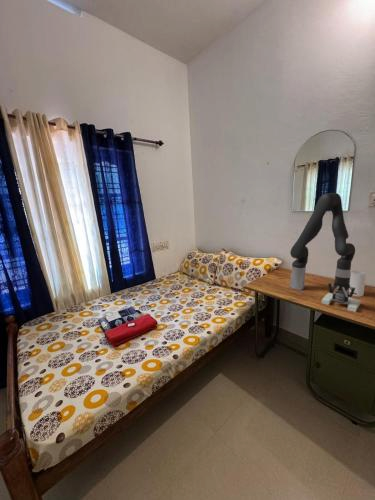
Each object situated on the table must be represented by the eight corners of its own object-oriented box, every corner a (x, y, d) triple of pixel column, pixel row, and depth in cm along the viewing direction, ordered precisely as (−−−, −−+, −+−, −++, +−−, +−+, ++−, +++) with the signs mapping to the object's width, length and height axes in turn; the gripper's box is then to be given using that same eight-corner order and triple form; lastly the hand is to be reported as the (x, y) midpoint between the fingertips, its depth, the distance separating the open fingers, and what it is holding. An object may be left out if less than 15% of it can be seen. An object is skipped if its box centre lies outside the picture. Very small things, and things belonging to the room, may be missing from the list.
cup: (360, 297, 147) (363, 275, 143) (346, 293, 153) (349, 272, 150) (365, 294, 151) (368, 272, 148) (351, 290, 158) (353, 269, 154)
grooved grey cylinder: (333, 301, 138) (334, 293, 136) (336, 299, 141) (336, 290, 140) (343, 304, 134) (344, 295, 132) (346, 301, 137) (346, 292, 136)
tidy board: (321, 303, 142) (322, 291, 140) (327, 296, 151) (328, 284, 149) (355, 312, 129) (357, 299, 127) (360, 303, 138) (361, 291, 136)
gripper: (327, 274, 136) (325, 299, 140) (355, 279, 126) (352, 306, 130) (330, 271, 141) (328, 295, 145) (358, 276, 131) (355, 302, 134)
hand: (340, 300), depth 137 cm, fingers closed on grooved grey cylinder, 5 cm apart
